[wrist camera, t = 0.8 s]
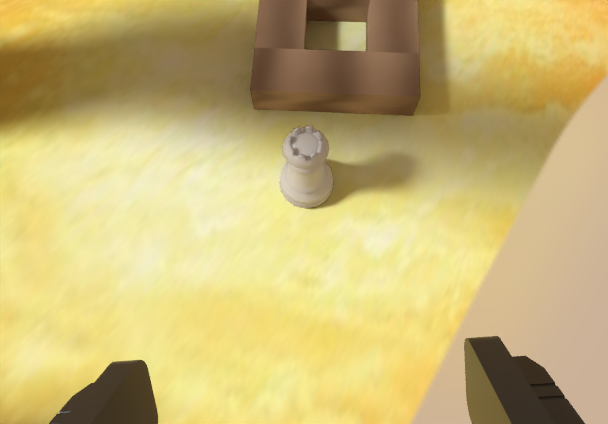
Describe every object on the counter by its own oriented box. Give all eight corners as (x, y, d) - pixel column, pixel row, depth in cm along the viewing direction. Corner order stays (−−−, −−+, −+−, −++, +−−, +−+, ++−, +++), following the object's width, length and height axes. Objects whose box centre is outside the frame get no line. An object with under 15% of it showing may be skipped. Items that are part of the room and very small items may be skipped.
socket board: (254, 109, 42) (250, 90, 40) (266, -17, 47) (263, -42, 44) (412, 115, 42) (420, 96, 39) (410, -13, 46) (416, -38, 44)
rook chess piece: (290, 217, 39) (285, 181, 32) (272, 170, 41) (263, 124, 33) (341, 199, 40) (348, 158, 32) (321, 153, 41) (324, 104, 33)
